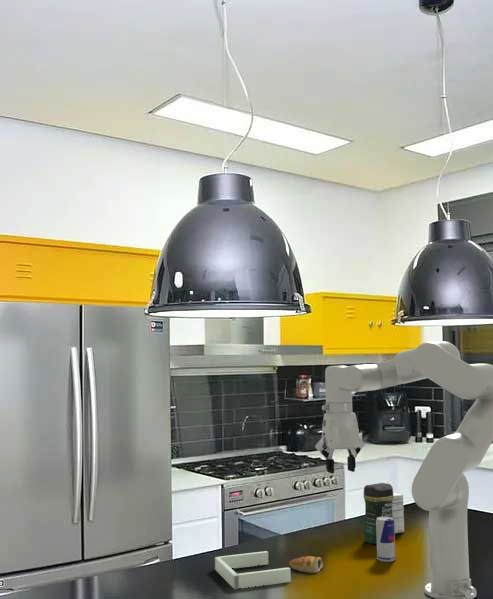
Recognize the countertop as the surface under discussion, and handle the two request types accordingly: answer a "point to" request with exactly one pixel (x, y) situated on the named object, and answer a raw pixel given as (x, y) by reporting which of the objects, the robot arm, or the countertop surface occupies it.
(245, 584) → the c-shaped clip
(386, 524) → the energy drink
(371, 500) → the coffee jar
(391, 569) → the countertop surface
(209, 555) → the countertop surface
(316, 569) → the pastry
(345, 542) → the countertop surface
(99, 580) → the countertop surface
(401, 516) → the supplement box
